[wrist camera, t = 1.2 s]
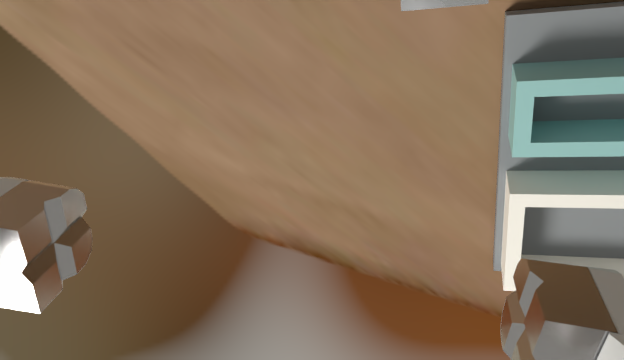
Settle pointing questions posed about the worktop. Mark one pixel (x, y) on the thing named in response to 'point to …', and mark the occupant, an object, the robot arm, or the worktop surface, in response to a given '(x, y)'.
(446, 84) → the worktop surface
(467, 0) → the steel block
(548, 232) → the holder
